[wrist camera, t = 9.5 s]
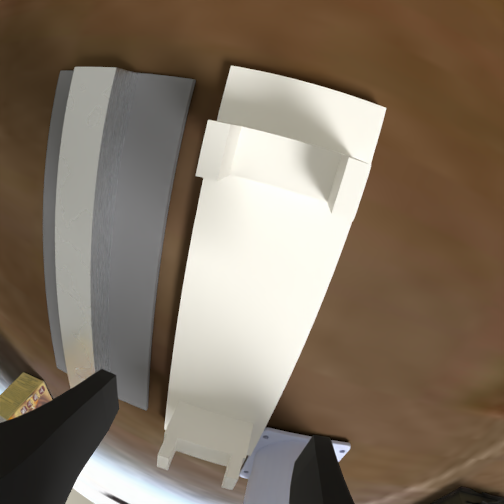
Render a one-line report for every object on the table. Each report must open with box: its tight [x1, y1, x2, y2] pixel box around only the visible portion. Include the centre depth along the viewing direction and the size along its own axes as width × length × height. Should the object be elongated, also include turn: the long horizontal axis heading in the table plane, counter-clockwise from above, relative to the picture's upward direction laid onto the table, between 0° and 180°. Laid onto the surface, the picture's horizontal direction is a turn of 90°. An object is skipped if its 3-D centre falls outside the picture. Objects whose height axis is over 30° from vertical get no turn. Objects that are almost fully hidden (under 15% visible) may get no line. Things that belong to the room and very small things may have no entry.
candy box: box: [0, 372, 52, 423], centre depth 22 cm, size 9×4×15 cm, turn 0°
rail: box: [55, 67, 138, 388], centre depth 19 cm, size 26×3×2 cm, turn 166°
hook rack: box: [157, 66, 386, 490], centre depth 17 cm, size 28×8×6 cm, turn 166°
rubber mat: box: [43, 70, 196, 410], centre depth 20 cm, size 26×10×1 cm, turn 166°
